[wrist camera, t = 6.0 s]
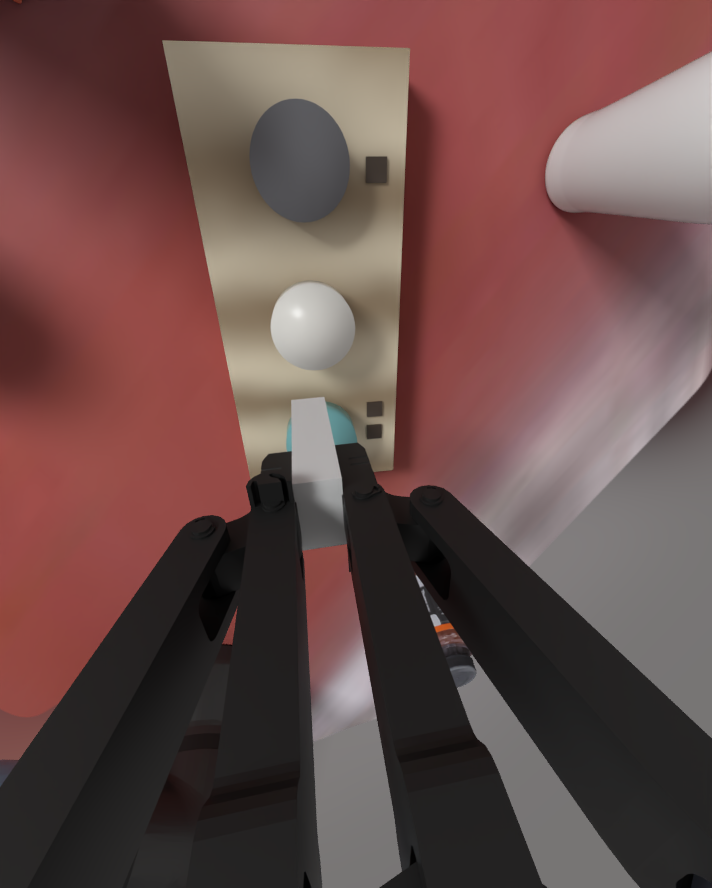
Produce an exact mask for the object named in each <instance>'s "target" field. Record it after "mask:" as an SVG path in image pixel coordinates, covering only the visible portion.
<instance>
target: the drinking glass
mask: <svg viewBox="0 0 712 888" xmlns="http://www.w3.org/2000/svg"><path fill="white" fill-rule="evenodd" d="M545 185H546V190H547V194H548V196H549V198H550V200H551V201H552V203H553V204H554V205H555V206H556V207H558V208H559V209H561V210H563V211H565V212H570V213H585V212H589V213H600V214H610V215H620V216H629V217H638V218H647V219H656V220H665V221H673V222H683V223H693V224H708V225H712V51H711V52H709V53H707V54H705V55H703V56H701V57H700V58H698V59H696V60H694V61H692V62H690V63H688V64H686V65H684V66H683V67H681V68H679V69H677V70H675V71H673V72H671V73H669V74H667V75H666V76H664V77H662V78H660V79H658V80H656V81H654V82H652V83H650V84H648V85H647V86H645V87H643V88H641V89H639V90H637V91H635V92H633V93H631V94H629V95H627V96H625V97H623V98H621V99H620V100H618V101H616V102H614V103H612V104H610V105H608V106H606V107H604V108H602V109H599V110H596V111H594V112H591V113H589V114H586V115H584V116H582V117H580V118H578V119H577V120H575V121H574V122H573V123H571V124H570V125H569V126H568V127H567V128H566V129H565V130H564V131H563V132H562V134H561V135H560V136H559V138H558V139H557V141H556V142H555V144H554V146H553V148H552V150H551V152H550V155H549V158H548V161H547V165H546V171H545Z"/></svg>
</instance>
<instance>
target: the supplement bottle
mask: <svg viewBox="0 0 712 888" xmlns="http://www.w3.org/2000/svg"><path fill="white" fill-rule="evenodd" d="M414 573H415V572H414ZM415 575H416V574H415ZM416 578H417V581H418V583H419V586H420V589H421V592H422V594H423V597H424V600H425V603H426V605H427V608H428V611H429V614H430V616H431V619H432V622H433V624H434V627H435V630H436V633H437V635H438V638H439V641H440V644H441V646H442V649H443V652H444V655H445V657H446V660H447V663H448V665H449V668H450V671H451V674H452V676H453V679H454V682H455V685H456V687H461V686H463V685H466V684H467V683H469V682H471V681H472V680H473V679H474V678H475V676H476V669H475V666H474V663H473V660H472V658H471V657H470V656H471V655H472V653H471V652H470V650H469V649H468V648H467V646H466V645H465V643H464V642H463V640H462V639H461V638H460V636H459V635H458V633H457V632H456V631H455V629H454V628H453V626H452V625H451V623H450V622H449V621H448V619H447V618H446V616H445V615H444V613H443V612H442V611H441V609H440V608H439V606H438V605H437V603H436V602H435V601H434V599H433V598H432V596H431V595H430V594H429V592H428V591H427V589H426V588H425V586H424V585H423V584H422V582H421V581H420V579H419V578H418V576H417V575H416Z"/></svg>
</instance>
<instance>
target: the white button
mask: <svg viewBox="0 0 712 888" xmlns="http://www.w3.org/2000/svg"><path fill="white" fill-rule="evenodd" d="M271 335H272V339H273V342H274V344H275V347H276V349H277V350H278V352H279V353H280V354H281V355H282V357H283V358H284V359H286V360H287V361H288V362H289V363H291V364H292V365H294V366H296V367H299V368H301V369H305V370H323V369H326V368H329V367H332V366H333V365H335V364H337V363H338V362H339V361H341V360H342V359H343V358H344V357H345V356H346V354H347V353H348V351H349V350H350V348H351V346H352V344H353V340H354V336H355V321H354V317H353V314H352V311H351V309H350V307H349V305H348V304H347V302H346V301H345V299H344V298H343V296H342V295H341V294H340V293H339V292H338V291H337V290H336V289H335V288H333V287H332V286H330V285H328V284H326V283H324V282H321V281H315V280H306V281H301V282H297V283H295V284H293V285H291V286H290V287H288V288H287V289H286V290H285V291H284V292H283V293H282V294H281V295H280V296H279V298H278V300H277V302H276V304H275V306H274V310H273V314H272V318H271Z"/></svg>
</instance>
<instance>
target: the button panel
mask: <svg viewBox="0 0 712 888" xmlns="http://www.w3.org/2000/svg"><path fill="white" fill-rule="evenodd" d="M162 42H163V47H164V52H165V57H166V62H167V67H168V72H169V77H170V82H171V87H172V92H173V97H174V102H175V107H176V112H177V116H178V121H179V126H180V131H181V136H182V141H183V146H184V151H185V156H186V161H187V166H188V171H189V176H190V181H191V186H192V191H193V196H194V201H195V206H196V211H197V216H198V221H199V226H200V231H201V235H202V240H203V245H204V250H205V255H206V260H207V265H208V270H209V275H210V280H211V285H212V290H213V295H214V300H215V305H216V310H217V315H218V320H219V325H220V330H221V335H222V340H223V345H224V350H225V354H226V359H227V364H228V369H229V374H230V379H231V384H232V389H233V394H234V399H235V404H236V409H237V414H238V419H239V424H240V429H241V434H242V439H243V444H244V449H245V454H246V459H247V464H248V469H249V474H250V478H251V479H252V478H253V477H254V476H256V475H259V474H260V473H261V465H262V461H263V460H264V458H265V457H266V456H267V455H268V454H271V453H280V452H287V449H286V438H287V426H288V422H289V420H290V418H291V400H298V399H307V398H317V397H324V398H325V401H326V402H331V403H334V404H337V405H338V406H340V407H342V408H343V409H344V410H345V411H346V412H347V413H348V414H349V416H350V417H351V420H352V422H353V426H354V429H355V433H356V436H357V443H359V444H360V445H361V446H363V447H364V448H365V450H366V452H367V455H368V458H369V461H370V464H371V467H372V469H373V472H377V471H387V470H393V458H394V433H395V408H396V383H397V358H398V333H399V308H400V283H401V258H402V233H403V208H404V183H405V158H406V133H407V108H408V83H409V58H410V48H389V47H358V46H326V45H295V44H263V43H232V42H200V41H169V40H162ZM287 99H304V100H307V101H311V102H313V103H315V104H317V105H318V106H320V107H322V108H323V109H324V110H325V111H327V112H328V113H329V114H330V115H331V116H332V118H333V119H334V120H335V121H336V123H337V124H338V126H339V127H340V129H341V131H342V133H343V135H344V138H345V140H346V144H347V147H348V152H349V158H350V174H349V181H348V185H347V188H346V191H345V194H344V196H343V198H342V199H341V201H340V203H339V204H338V205H337V207H336V208H335V209H334V210H333V211H332V212H331V213H329V214H328V215H327V216H325V217H324V218H322V219H319V220H317V221H313V222H306V223H301V222H295V221H291V220H288V219H286V218H284V217H282V216H281V215H279V214H278V213H276V212H275V211H274V210H273V209H272V208H271V207H270V206H269V205H268V204H267V203H266V202H265V201H264V199H263V198H262V196H261V195H260V193H259V191H258V189H257V187H256V185H255V182H254V180H253V176H252V173H251V167H250V158H249V153H250V143H251V138H252V134H253V131H254V129H255V126H256V124H257V122H258V121H259V119H260V117H261V116H262V115H263V114H264V112H265V111H267V110H268V109H269V108H270V107H271V106H273V105H274V104H276V103H278V102H280V101H283V100H287ZM306 280H315V281H321V282H324V283H326V284H328V285H330V286H332V287H333V288H335V289H336V290H337V291H338V292H339V293H340V294H341V295H342V296H343V298H344V299H345V301H346V302H347V304H348V305H349V307H350V309H351V311H352V314H353V317H354V321H355V336H354V340H353V344H352V346H351V348H350V350H349V351H348V353H347V354H346V356H345V357H344V358H343V359H342V360H341V361H339V362H338V363H337V364H335V365H333V366H332V367H329V368H326V369H323V370H305V369H301V368H299V367H296V366H294V365H292V364H291V363H289V362H288V361H287V360H286V359H284V358H283V357H282V355H281V354H280V353H279V352H278V350H277V349H276V347H275V344H274V342H273V339H272V335H271V318H272V314H273V310H274V306H275V304H276V302H277V300H278V298H279V296H280V295H281V294H282V293H283V292H284V291H285V290H286V289H287V288H288V287H290V286H291V285H293V284H295V283H297V282H301V281H306Z"/></svg>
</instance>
